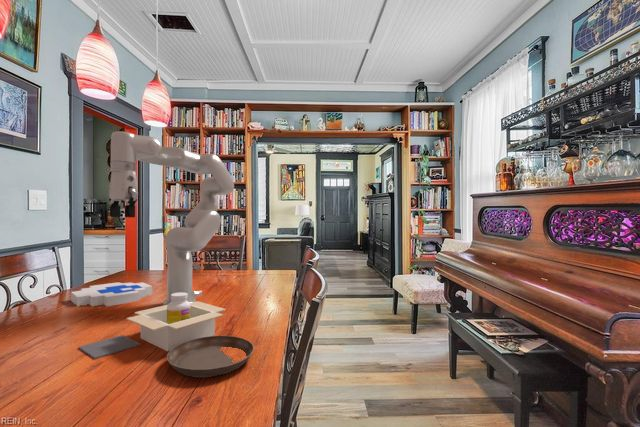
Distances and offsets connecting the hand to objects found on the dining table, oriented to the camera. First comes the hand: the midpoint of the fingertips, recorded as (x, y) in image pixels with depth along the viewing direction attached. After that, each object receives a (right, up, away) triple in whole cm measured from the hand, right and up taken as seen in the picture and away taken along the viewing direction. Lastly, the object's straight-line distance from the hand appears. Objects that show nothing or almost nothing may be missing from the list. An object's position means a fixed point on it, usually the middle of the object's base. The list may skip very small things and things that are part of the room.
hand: (122, 217), depth 111 cm
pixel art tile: (-22, -36, +30) cm, 52 cm away
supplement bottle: (+26, -36, -15) cm, 47 cm away
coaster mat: (+11, -36, -23) cm, 44 cm away
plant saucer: (+42, -37, -31) cm, 63 cm away
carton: (+26, -36, -15) cm, 47 cm away
